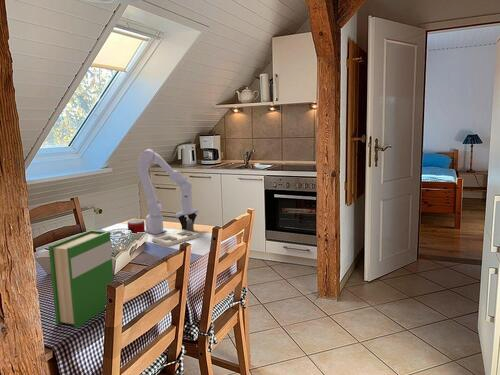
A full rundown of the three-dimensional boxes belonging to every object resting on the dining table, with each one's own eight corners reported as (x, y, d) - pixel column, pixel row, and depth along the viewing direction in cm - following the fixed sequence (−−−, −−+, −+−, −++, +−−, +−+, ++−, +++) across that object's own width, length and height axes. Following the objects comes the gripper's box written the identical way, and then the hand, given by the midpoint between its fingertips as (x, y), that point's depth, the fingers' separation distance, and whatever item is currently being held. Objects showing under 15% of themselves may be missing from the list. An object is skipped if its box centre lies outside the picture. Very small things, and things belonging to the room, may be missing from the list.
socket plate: (152, 241, 200) (152, 237, 199) (183, 232, 214) (183, 228, 214) (167, 246, 192) (167, 241, 191) (199, 236, 207) (198, 232, 206)
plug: (181, 230, 218) (181, 219, 217) (188, 228, 221) (187, 218, 220) (187, 232, 215) (186, 221, 214) (193, 230, 219) (193, 219, 218)
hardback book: (76, 328, 117) (69, 248, 113) (56, 324, 119) (48, 246, 115) (115, 302, 133) (109, 231, 129) (96, 299, 135) (90, 229, 131)
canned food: (147, 240, 201) (146, 219, 199) (141, 245, 193) (140, 223, 192) (132, 240, 202) (131, 218, 200) (126, 245, 194) (124, 222, 192)
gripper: (180, 206, 208) (181, 232, 210) (201, 202, 219) (202, 226, 221) (172, 204, 212) (173, 229, 215) (193, 200, 223) (194, 224, 225)
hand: (187, 228), depth 218 cm, fingers closed on plug, 4 cm apart
